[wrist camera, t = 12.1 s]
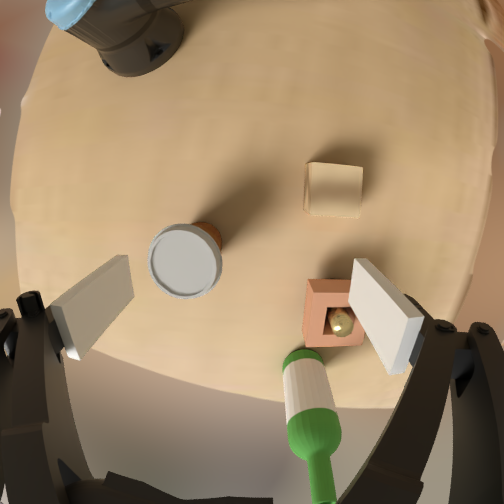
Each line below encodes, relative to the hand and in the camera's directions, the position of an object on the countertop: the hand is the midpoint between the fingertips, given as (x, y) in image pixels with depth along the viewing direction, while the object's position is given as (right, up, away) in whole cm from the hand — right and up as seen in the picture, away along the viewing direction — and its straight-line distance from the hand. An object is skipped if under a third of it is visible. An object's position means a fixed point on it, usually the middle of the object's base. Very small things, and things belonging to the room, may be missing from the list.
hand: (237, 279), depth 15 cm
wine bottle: (+10, -19, +34) cm, 40 cm away
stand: (+12, +11, +25) cm, 30 cm away
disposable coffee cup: (-7, +3, +28) cm, 29 cm away
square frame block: (+14, -7, +26) cm, 31 cm away
